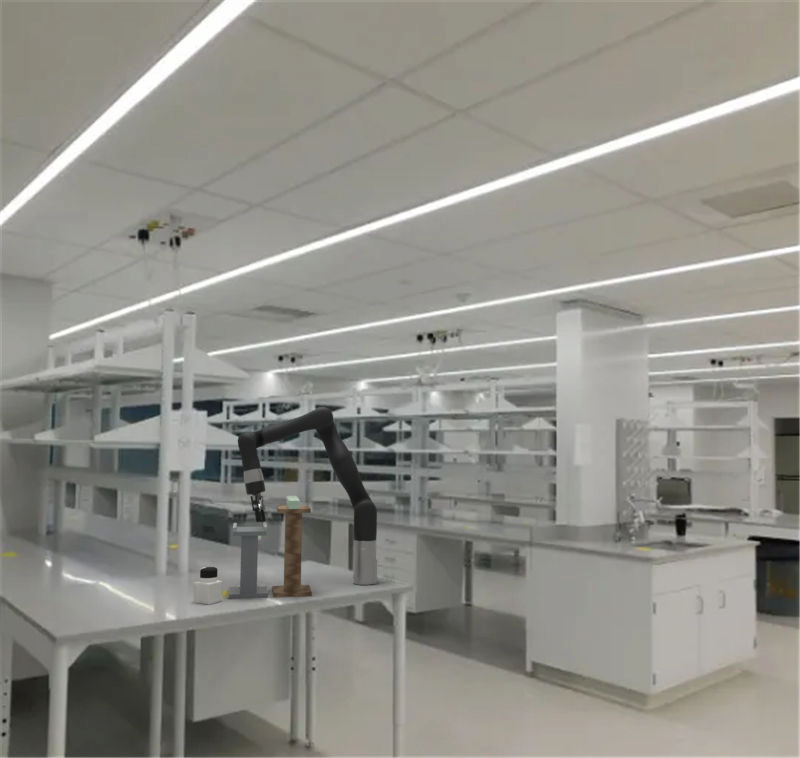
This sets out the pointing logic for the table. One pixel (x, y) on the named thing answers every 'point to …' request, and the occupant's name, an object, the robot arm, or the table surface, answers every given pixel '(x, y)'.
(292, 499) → the slide box
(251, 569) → the gray pedestal stand
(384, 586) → the table surface
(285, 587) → the brown pedestal stand
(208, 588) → the medicine bottle
